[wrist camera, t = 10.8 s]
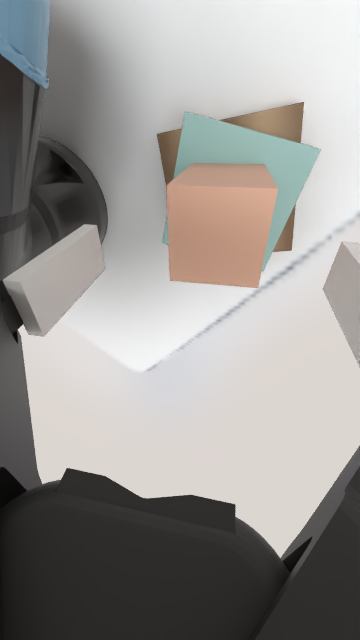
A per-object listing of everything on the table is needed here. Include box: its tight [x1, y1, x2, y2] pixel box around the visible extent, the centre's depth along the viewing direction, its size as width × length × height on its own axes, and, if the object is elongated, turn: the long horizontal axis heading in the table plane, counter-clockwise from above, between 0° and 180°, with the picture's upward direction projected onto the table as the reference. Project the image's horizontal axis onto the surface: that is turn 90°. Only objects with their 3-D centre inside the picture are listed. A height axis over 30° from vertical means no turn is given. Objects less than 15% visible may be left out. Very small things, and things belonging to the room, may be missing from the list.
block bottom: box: [157, 102, 304, 252], centre depth 28 cm, size 13×13×4 cm
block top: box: [162, 112, 320, 272], centre depth 25 cm, size 11×11×4 cm
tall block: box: [167, 163, 278, 288], centre depth 20 cm, size 6×6×10 cm
